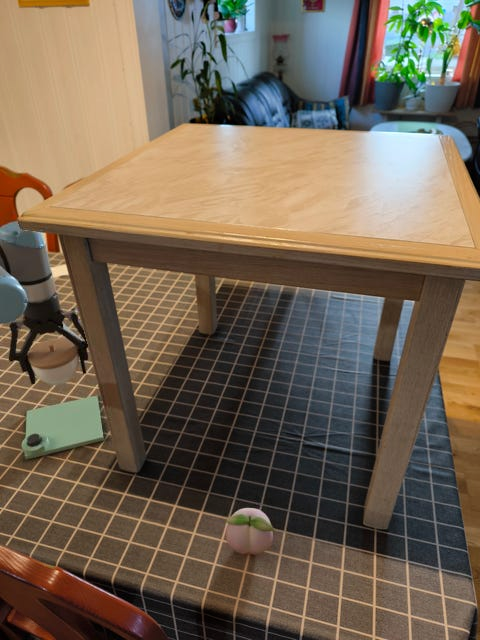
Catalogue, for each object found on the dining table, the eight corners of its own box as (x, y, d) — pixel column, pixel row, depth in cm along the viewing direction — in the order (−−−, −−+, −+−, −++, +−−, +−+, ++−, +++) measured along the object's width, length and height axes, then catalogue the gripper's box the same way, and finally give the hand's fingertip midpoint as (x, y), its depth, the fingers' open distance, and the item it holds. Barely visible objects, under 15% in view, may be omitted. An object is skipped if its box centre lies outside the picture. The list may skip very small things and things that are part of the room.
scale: (24, 463, 105) (21, 453, 103) (27, 416, 118) (23, 406, 116) (104, 443, 110) (102, 433, 108) (98, 400, 123) (96, 391, 121)
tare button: (28, 448, 105) (26, 443, 104) (28, 439, 107) (27, 435, 106) (41, 445, 106) (39, 440, 105) (41, 436, 108) (39, 432, 107)
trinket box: (59, 358, 111) (51, 327, 106) (92, 370, 107) (86, 339, 102) (25, 383, 103) (15, 351, 98) (59, 397, 99) (50, 365, 94)
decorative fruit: (271, 527, 92) (274, 497, 87) (272, 566, 85) (275, 537, 80) (226, 525, 93) (226, 495, 87) (223, 564, 86) (223, 534, 80)
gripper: (93, 279, 100) (107, 356, 112) (-22, 295, 93) (7, 375, 105) (96, 294, 94) (111, 374, 106) (-26, 313, 87) (4, 396, 99)
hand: (59, 375), depth 105 cm, fingers closed on trinket box, 11 cm apart
